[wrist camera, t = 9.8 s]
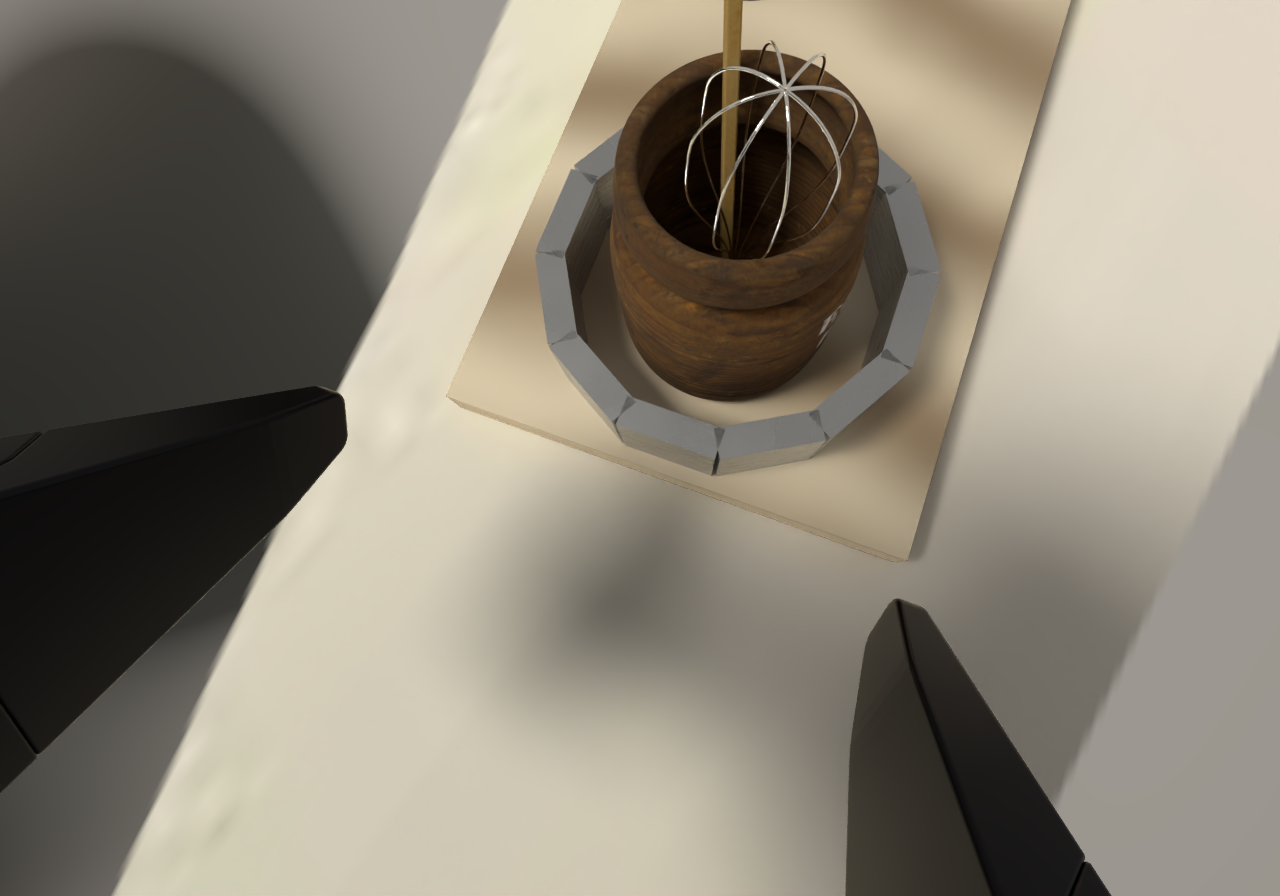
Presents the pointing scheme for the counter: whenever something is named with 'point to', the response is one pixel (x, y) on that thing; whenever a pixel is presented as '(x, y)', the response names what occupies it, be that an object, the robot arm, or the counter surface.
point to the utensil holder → (740, 216)
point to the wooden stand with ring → (875, 309)
